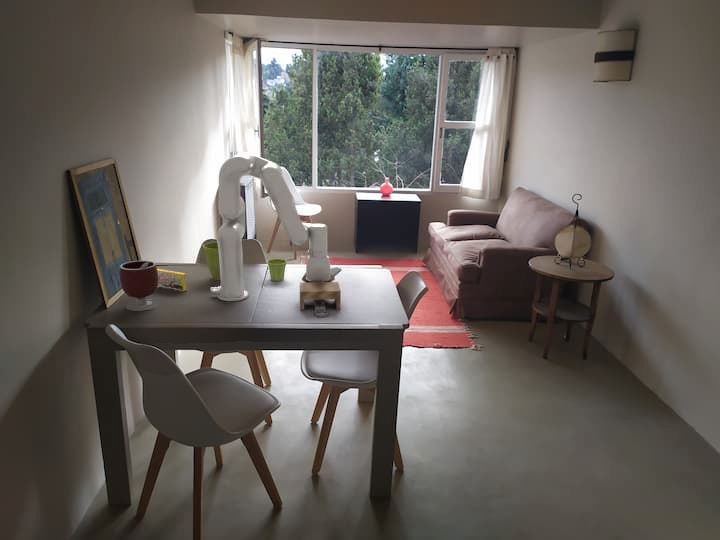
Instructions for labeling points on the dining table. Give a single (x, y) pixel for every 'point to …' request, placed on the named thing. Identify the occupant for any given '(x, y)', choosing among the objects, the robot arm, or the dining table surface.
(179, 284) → the candy box
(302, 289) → the walnut shelf
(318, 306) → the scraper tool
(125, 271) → the mate gourd
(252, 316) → the dining table surface
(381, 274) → the dining table surface
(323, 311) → the steel disc
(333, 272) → the stone slab
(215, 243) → the flower pot
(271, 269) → the plant pot
